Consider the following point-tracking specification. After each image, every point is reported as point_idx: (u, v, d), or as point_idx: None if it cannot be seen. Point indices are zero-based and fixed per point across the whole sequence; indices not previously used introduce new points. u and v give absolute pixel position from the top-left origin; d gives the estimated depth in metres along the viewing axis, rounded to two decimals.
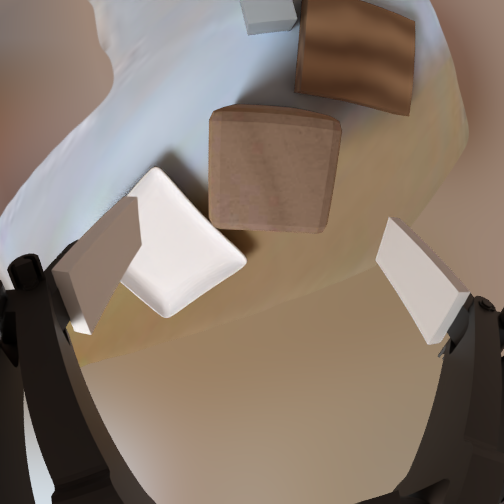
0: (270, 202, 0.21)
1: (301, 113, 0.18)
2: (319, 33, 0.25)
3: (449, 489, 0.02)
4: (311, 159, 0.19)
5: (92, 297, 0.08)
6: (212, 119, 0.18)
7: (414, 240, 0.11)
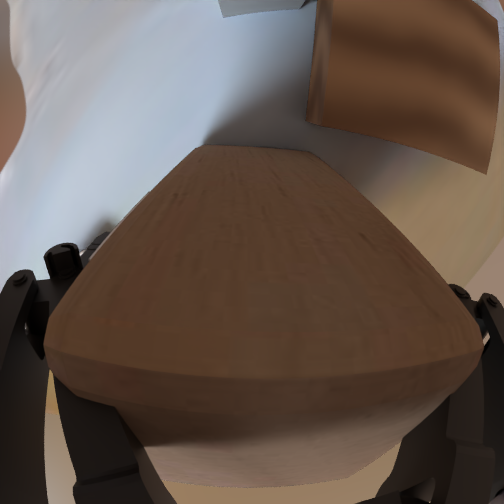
0: (256, 480, 0.07)
1: (390, 339, 0.04)
2: (358, 13, 0.11)
3: (435, 490, 0.02)
4: (373, 441, 0.05)
5: None
6: (48, 362, 0.04)
7: None
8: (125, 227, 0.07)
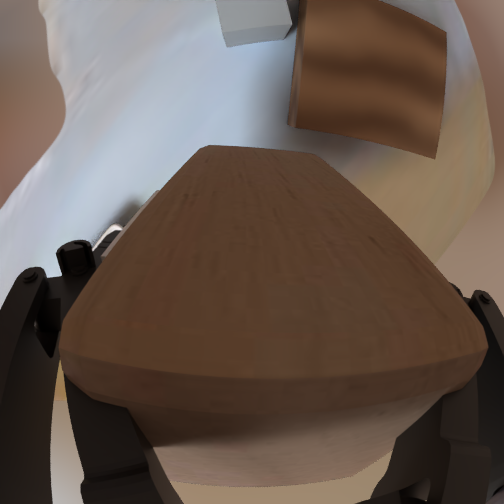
0: (264, 479, 0.07)
1: (404, 339, 0.04)
2: (323, 44, 0.19)
3: (430, 490, 0.02)
4: (382, 438, 0.05)
5: None
6: (63, 365, 0.04)
7: None
8: (137, 227, 0.07)
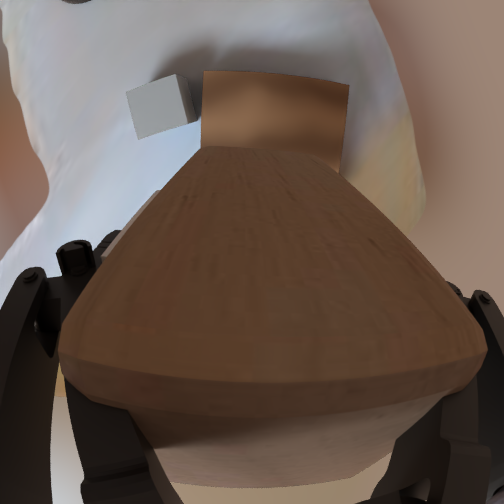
0: (263, 480, 0.07)
1: (403, 343, 0.04)
2: (216, 134, 0.28)
3: (430, 491, 0.02)
4: (380, 441, 0.05)
5: None
6: (62, 368, 0.04)
7: None
8: (136, 229, 0.07)
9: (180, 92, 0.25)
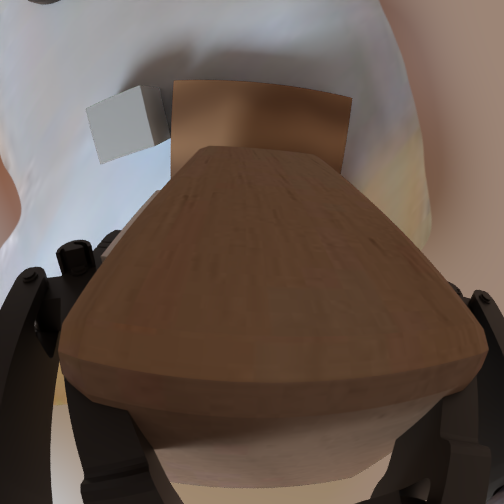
0: (264, 480, 0.07)
1: (404, 343, 0.04)
2: (188, 158, 0.24)
3: (430, 490, 0.02)
4: (382, 440, 0.05)
5: None
6: (62, 368, 0.04)
7: None
8: (137, 229, 0.07)
9: (146, 107, 0.21)
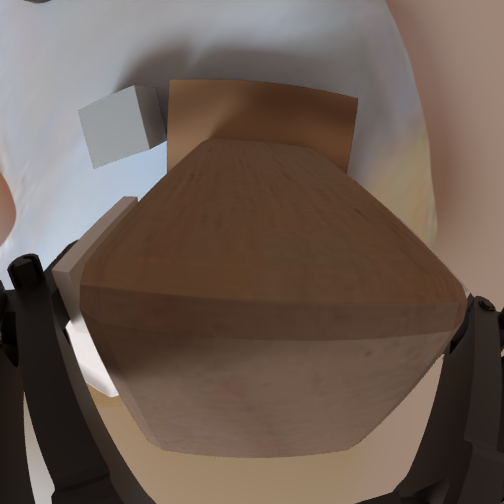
0: (261, 445, 0.08)
1: (383, 281, 0.05)
2: None
3: (449, 489, 0.02)
4: (373, 393, 0.06)
5: None
6: (80, 303, 0.05)
7: None
8: (150, 197, 0.08)
9: (140, 108, 0.19)
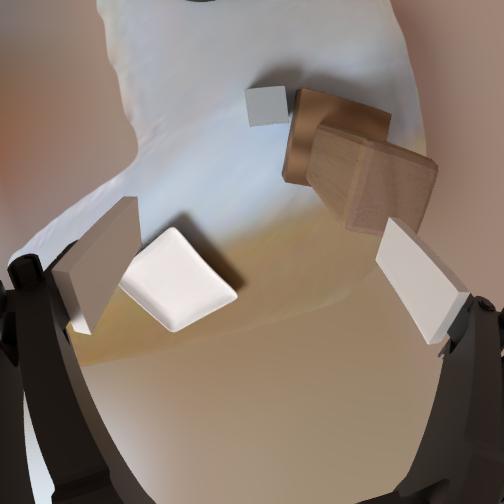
0: (389, 215, 0.26)
1: (417, 154, 0.23)
2: (305, 133, 0.40)
3: (449, 489, 0.02)
4: (419, 188, 0.24)
5: (92, 297, 0.08)
6: (366, 145, 0.22)
7: (414, 240, 0.11)
8: (355, 133, 0.26)
9: (285, 99, 0.37)
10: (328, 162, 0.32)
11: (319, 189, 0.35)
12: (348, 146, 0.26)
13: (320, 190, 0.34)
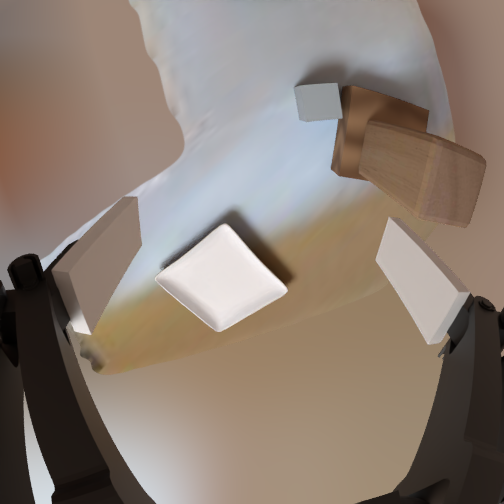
0: (452, 205, 0.25)
1: (471, 151, 0.22)
2: (356, 129, 0.40)
3: (449, 489, 0.02)
4: (473, 181, 0.23)
5: (92, 297, 0.08)
6: (436, 143, 0.22)
7: (414, 240, 0.11)
8: (419, 131, 0.25)
9: (338, 96, 0.36)
10: (390, 156, 0.32)
11: (380, 182, 0.35)
12: (415, 142, 0.26)
13: (382, 183, 0.34)
